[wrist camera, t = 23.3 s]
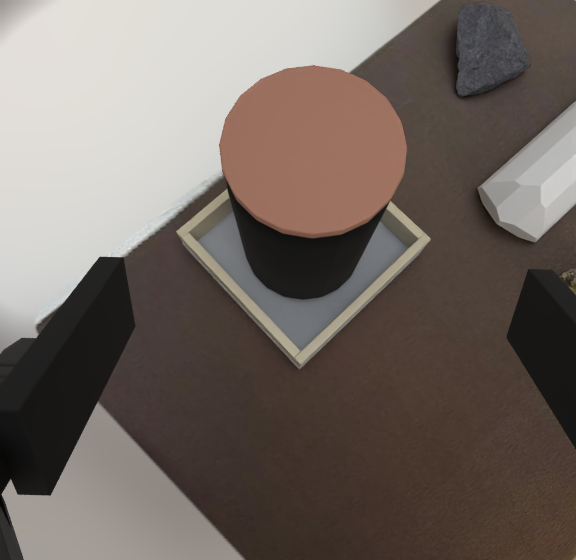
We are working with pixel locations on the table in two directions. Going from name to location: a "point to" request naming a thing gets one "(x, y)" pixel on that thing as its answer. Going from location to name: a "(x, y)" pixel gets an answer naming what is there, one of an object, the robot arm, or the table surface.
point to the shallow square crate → (289, 311)
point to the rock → (487, 48)
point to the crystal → (536, 181)
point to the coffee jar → (310, 175)
